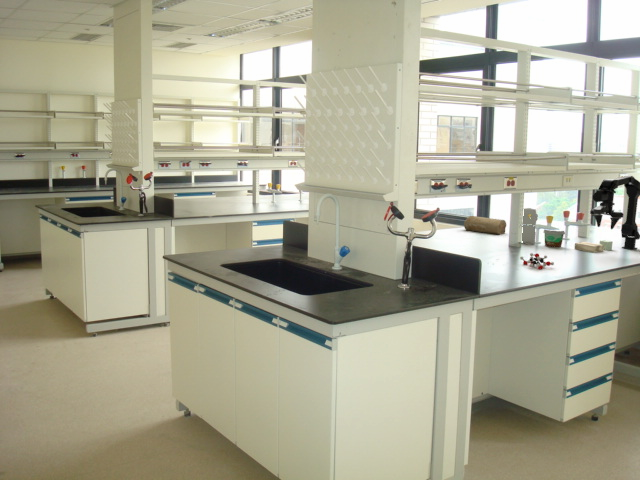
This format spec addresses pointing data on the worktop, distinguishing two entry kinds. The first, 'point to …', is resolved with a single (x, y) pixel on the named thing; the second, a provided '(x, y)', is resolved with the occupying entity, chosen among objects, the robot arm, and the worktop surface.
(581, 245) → the birch block
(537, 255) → the molecular model
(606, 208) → the robot arm
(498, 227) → the core sample
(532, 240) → the grey tall slab
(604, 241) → the sage cube
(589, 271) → the worktop surface
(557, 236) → the food container
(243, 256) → the worktop surface
